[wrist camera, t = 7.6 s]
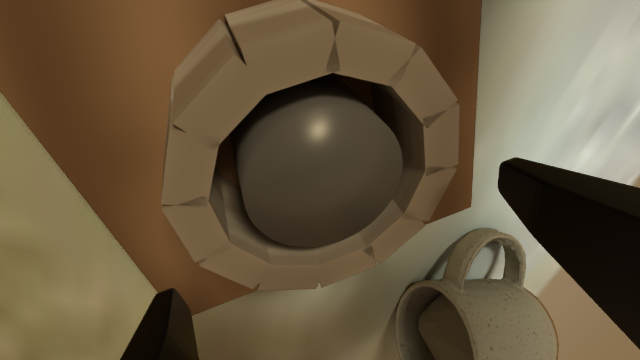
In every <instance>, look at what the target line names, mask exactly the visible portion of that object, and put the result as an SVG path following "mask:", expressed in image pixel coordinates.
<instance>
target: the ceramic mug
mask: <svg viewBox="0 0 640 360" xmlns="http://www.w3.org/2000/svg"><path fill="white" fill-rule="evenodd" d="M490 241H494V242H495V243H496V244H497V245H499V246H501V245H503V248H504V251H505V267H504V274H503V278H502V279H501V280H499V279H475V280H465V278H466V276H467V273H468V271H469V269H470V266H471V264H472V262H473V260H474V258H475V257H476V255H477V254H478V252H479V251H480V250H481V248H483V247H484V246H485V245H486V244H487V243H489V242H490ZM525 269H526V260H525V252H524V250H523V248H522V246H521V244H520V243H519V242H518V240H516V239H515V238H514V237H512V236H511V235H508V234H505V233H502V232H500V231H497V230H495V229H490V228H481V229H476V230H473V231H471V232H470V233H468V234H466V235H465V236H464V237H463V238H462V239H461V240H460V241H459V242H458V244H457V245H456V246H455V247H454V249H453V251H452V253H451V255H450V258H449V260H448V263H447V265H446V268H445V272H444V275H443V279H442V280H424V281H420V282H417V283H415V284H413V285H411V286H410V287H409V288H408V289H407V290H406V291H405V293H404V294H403V295H402V297H401V299H400V302H399V304H398V307H397V312H396V318H395V336H396V344H397V348H398V352H399V356H400V359H401V360H558V349H559V344H558V336H557V332H556V328H555V325H554V323H553V320H552V319H551V317H550V315H549V313H548V312H547V310H546V308H545V307H544V305H543V304H542V303H541V302H540V300H539V299H538V298H537V297H536V296H534V295H533V294H532V293H531V292H529V291H528V290H527V289H525V288H524V287H523V283H524V278H525Z"/></svg>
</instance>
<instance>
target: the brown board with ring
mask: <svg viewBox="0 0 640 360" xmlns="http://www.w3.org/2000/svg"><path fill="white" fill-rule="evenodd" d="M481 3H482V0H0V92H1V93H2V94H3V95H4V97H5V98H6V99H7V101H8V102H9V103H10V104H11V106H12V107H13V108H14V109H15V111H16V112H17V113H18V115H19V116H20V117H21V118H22V120H23V121H24V122H25V123H26V125H27V126H28V127H29V129H30V130H31V131H32V132H33V134H34V135H35V136H36V138H37V139H38V140H39V141H40V143H41V144H42V145H43V146H44V148H45V149H46V150H47V152H48V153H49V154H50V155H51V157H52V158H53V159H54V160H55V162H56V163H57V164H58V166H59V167H60V168H61V169H62V171H63V172H64V173H65V175H66V176H67V177H68V178H69V180H70V181H71V182H72V183H73V185H74V186H75V187H76V189H77V190H78V191H79V192H80V194H81V195H82V196H83V197H84V199H85V200H86V201H87V203H88V204H89V205H90V206H91V208H92V209H93V210H94V212H95V213H96V214H97V215H98V217H99V218H100V219H101V220H102V222H103V223H104V224H105V226H106V227H107V228H108V229H109V231H110V232H111V233H112V234H113V236H114V237H115V238H116V240H117V241H118V242H119V243H120V245H121V246H122V247H123V249H124V250H125V251H126V252H127V254H128V255H129V256H130V257H131V259H132V260H133V261H134V263H135V264H136V265H137V266H138V268H139V269H140V270H141V272H142V273H143V274H144V275H145V277H146V278H147V279H148V280H149V282H150V283H151V284H152V286H153V287H154V288H155V289H156V291H157V292H158V293H159V292H161V291H164V290H166V289H169V288H175V289H176V290H177V291H178V293H179V294H180V295H181V297H182V298H183V299H184V301H185V302H186V304H187V305H188V307H189V309H190V311H191V315H194V314H197V313H200V312H202V311H205V310H207V309H210V308H212V307H215V306H218V305H220V304H223V303H225V302H228V301H230V300H233V299H236V298H238V297H241V296H243V295H246V294H248V293H251V292H254V291H256V290H292V289H316V288H317V286H318V283H319V282H320V285H321V288H322V287H325V286H327V285H330V284H332V283H335V282H337V281H340V280H342V279H345V278H347V277H350V276H352V275H355V274H358V273H360V272H363V271H365V270H368V269H370V268H373V267H375V266H376V262H375V260H377V261H378V262H380V263H382V262H383V261H384V260H385V259H386V258H388V257H389V256H390V255H391V254H392V253H393V252H395V251H396V250H397V249H398V248H399V247H400V246H402V245H403V244H404V243H405V242H406V241H407V240H409V239H410V238H411V237H412V236H413V235H414V234H416V233H417V232H418V231H419V230H420V229H422V228H423V227H424V226H425V225H426V224H428V223H431V222H433V221H436V220H439V219H441V218H444V217H446V216H449V215H451V214H454V213H457V212H459V211H462V210H464V209H467V208H469V207H471V198H472V179H473V159H474V140H475V120H476V101H477V81H478V62H479V42H480V23H481ZM331 73H335V74H336V75H337V76H338V77H339V78H341V79H342V80H343V81H344V82H345V83H346V84H347V85H348V86H349V87H350V88H351V89H352V90H353V91H354V92H355V93H356V94H357V95H358V96H359V97H360V98H361V99H362V100H363V101H364V102H365V103H366V105H367V106H368V107H369V108H370V109H371V110H372V111H373V112H374V113H375V114H376V115H377V116H378V117H379V118H380V119H381V120H382V121H383V122H384V123H385V124H386V125H387V126H388V127H389V128H390V129H391V130H392V132H393V133H394V135H395V136H396V138H397V140H398V142H399V145H400V148H401V153H402V163H403V167H402V175H401V179H400V183H399V185H398V188H397V190H396V193H395V194H394V196H393V198H392V200H391V201H390V203H389V204H388V206H387V207H386V208H385V210H384V211H383V212H382V213H381V214H380V215H379V216H378V217H377V218H376V219H375V220H374V221H373V222H372V223H371V224H369V225H368V226H367V227H366V228H364V229H363V230H361V231H360V232H358V233H356V234H354V235H353V236H351V237H349V238H346V239H344V240H342V241H339V242H336V243H333V244H329V245H325V246H318V247H294V246H289V245H285V244H282V243H279V242H277V241H274V240H272V239H270V238H269V237H267V236H266V235H264V234H263V233H262V232H261V231H260V230H258V229H257V227H256V226H255V225H254V224H253V223H252V221H251V219H250V218H249V216H248V214H247V211H246V208H245V205H244V200H243V196H242V191H241V187H240V182H239V178H238V173H237V169H236V164H235V160H234V155H233V151H232V146H231V141H230V136H229V134H230V132H231V131H232V130H233V129H234V128H235V127H236V126H237V125H238V124H239V123H240V122H241V121H242V120H243V119H244V118H245V116H246V115H247V114H248V113H249V112H250V111H251V110H252V109H253V108H254V107H255V106H256V105H257V104H258V103H259V102H260V100H261V99H262V98H263V97H264V96H265V95H267V94H270V93H273V92H276V91H279V90H282V89H285V88H288V87H291V86H294V85H297V84H300V83H303V82H306V81H309V80H312V79H315V78H318V77H321V76H324V75H328V74H331Z"/></svg>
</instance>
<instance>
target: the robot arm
mask: <svg viewBox="0 0 640 360" xmlns="http://www.w3.org/2000/svg"><path fill="white" fill-rule="evenodd" d="M498 189H499V192H500V194H501V195H502V196H503V198H504V199H505V200H506V202H507V203H508V204H509V206H510V207H511V208H512V210H513V211H514V212H515V213H516V215H517V216H518V217H519V219H520V220H521V221H522V223H523V224H524V225H525V227H526V228H527V229H528V230H529V232H530V233H531V234H532V235H533V237H534V238H535V239H536V240H537V241H538V242H539V243H540V244H541V245H542V246H543V247H544V249H545V250H546V251H547V252H548V253H549V254H550V255H551V256H552V257H553V258H554V259H555V260H556V261H557V262H558V263H559V264H560V266H561V267H562V268H563V269H564V270H565V271H566V272H567V273H568V274H569V275H570V276H571V277H572V278H573V279H574V280H575V281H576V282H577V284H579V286H580V287H581V288H582V289H583V290H584V291H585V292H586V293H587V294H588V295H589V296H590V297H591V298H592V299H593V300H594V302H595V303H596V304H597V305H598V306H599V307H600V308H601V309H602V310H603V311H604V312H605V313H606V314H607V315H608V316H609V317H610V319H611V320H612V321H613V322H614V323H615V324H616V325H617V326H618V327H619V328H620V329H621V330H622V331H623V332H624V333H625V334H626V335H627V336H628V338H629V339H630V340H631V341H632V342H633V343H634V344H635V345H636V346H637V347H638V348H639V349H640V188H638V187H634V186H630V185H626V184H622V183H618V182H614V181H610V180H606V179H602V178H598V177H594V176H590V175H586V174H582V173H578V172H574V171H570V170H566V169H562V168H557V167H553V166H549V165H545V164H541V163H537V162H533V161H529V160H525V159H521V158H512V159H509V160H506V161H504V162H502V163H501V165H500V168H499V178H498ZM120 360H199V357H198V351H197V345H196V339H195V333H194V327H193V321H192V315H191V311H190V309H189V307H188V305H187V304H186V302H185V301H184V299H183V298H182V297H181V295H180V294H179V293H178V291H177V290H176V289H175V288H169V289H166V290H164V291H161V292H159V293H157V294H156V295H155V297H154V299H153V300H152V302H151V304H150V306H149V308H148V309H147V311H146V313H145V315H144V317H143V319H142V320H141V322H140V324H139V326H138V328H137V330H136V331H135V333H134V335H133V337H132V339H131V341H130V342H129V344H128V346H127V348H126V350H125V351H124V353H123V355H122V357H121V359H120Z"/></svg>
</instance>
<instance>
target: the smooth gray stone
mask: <svg viewBox="0 0 640 360" xmlns="http://www.w3.org/2000/svg"><path fill="white" fill-rule="evenodd" d="M229 136H230V141H231V146H232V151H233V155H234V160H235V164H236V169H237V173H238V178H239V182H240V187H241V191H242V196H243V200H244V205H245V208H246V211H247V214H248V216H249V218H250V219H251V221H252V223H253V224H254V225H255V226H256V227H257V229H258V230H260V231H261V232H262V233H263V234H264V235H266V236H267V237H269V238H270V239H272V240H274V241H277V242H279V243H282V244H285V245H289V246H294V247H318V246H325V245H329V244H333V243H336V242H339V241H342V240H344V239H346V238H349V237H351V236H353V235H354V234H356V233H358V232H360V231H361V230H363V229H364V228H366V227H367V226H368V225H369V224H371V223H372V222H373V221H374V220H375V219H376V218H377V217H378V216H379V215H380V214H381V213H382V212H383V211H384V210H385V208H386V207H387V206H388V204H389V203H390V201H391V200H392V198H393V196H394V194H395V193H396V190H397V188H398V185H399V183H400V179H401V175H402V167H403V163H402V153H401V148H400V145H399V142H398V140H397V138H396V136H395V135H394V133H393V132H392V130H391V129H390V128H389V127H388V126H387V125H386V124H385V123H384V122H383V121H382V120H381V119H380V118H379V117H378V116H377V115H376V114H375V113H374V112H373V111H372V110H371V109H370V108H369V107H368V106H367V105H366V103H365V102H364V101H363V100H362V99H361V98H360V97H359V96H358V95H357V94H356V93H355V92H354V91H353V90H352V89H351V88H350V87H349V86H348V85H347V84H346V83H345V82H344V81H343V80H342V79H341V78H339V77H338V76H337V75H336V74H335V73H331V74H328V75H324V76H321V77H318V78H315V79H312V80H309V81H306V82H303V83H300V84H297V85H294V86H291V87H288V88H285V89H282V90H279V91H276V92H273V93H270V94H267V95H265V96H264V97H263V98H262V99H261V100H260V102H259V103H258V104H257V105H256V106H255V107H254V108H253V109H252V110H251V111H250V112H249V113H248V114H247V115H246V116H245V118H244V119H243V120H242V121H241V122H240V123H239V124H238V125H237V126H236V127H235V128H234V129H233V130H232V131H231V132H230V134H229Z"/></svg>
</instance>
